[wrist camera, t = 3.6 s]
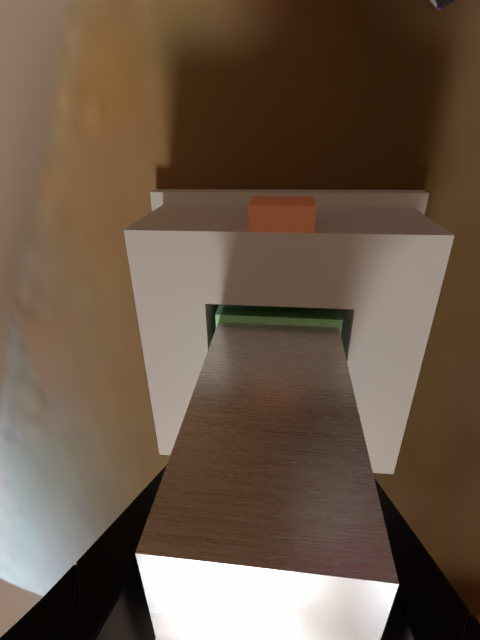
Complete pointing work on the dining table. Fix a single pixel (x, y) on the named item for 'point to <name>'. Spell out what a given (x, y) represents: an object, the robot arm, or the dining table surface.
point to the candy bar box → (440, 3)
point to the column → (269, 493)
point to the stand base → (290, 287)
